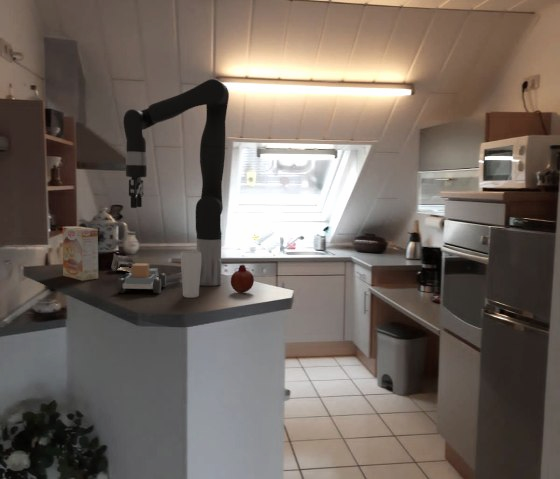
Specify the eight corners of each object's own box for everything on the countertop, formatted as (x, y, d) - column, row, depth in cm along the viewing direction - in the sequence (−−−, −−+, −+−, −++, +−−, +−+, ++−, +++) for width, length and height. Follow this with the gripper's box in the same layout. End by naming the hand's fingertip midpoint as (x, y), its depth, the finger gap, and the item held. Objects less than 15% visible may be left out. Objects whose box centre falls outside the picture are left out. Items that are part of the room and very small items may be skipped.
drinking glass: (191, 299, 174) (192, 254, 173) (176, 296, 178) (176, 252, 176) (205, 296, 180) (205, 252, 178) (190, 293, 183) (190, 250, 182)
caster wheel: (140, 278, 223) (116, 277, 218) (132, 269, 232) (109, 267, 227) (143, 264, 222) (119, 261, 216) (136, 255, 231) (113, 252, 225)
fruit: (248, 296, 181) (248, 267, 180) (226, 294, 184) (227, 265, 183) (257, 292, 189) (257, 264, 188) (236, 290, 192) (236, 262, 191)
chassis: (166, 285, 196) (166, 268, 195) (158, 294, 180) (158, 275, 179) (127, 285, 195) (127, 267, 195) (116, 294, 179) (116, 275, 179)
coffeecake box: (62, 275, 211) (61, 226, 209) (79, 273, 217) (78, 226, 215) (81, 280, 202) (81, 229, 200) (99, 278, 207) (98, 228, 205)
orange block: (149, 280, 187) (149, 263, 186) (146, 283, 182) (146, 265, 181) (135, 280, 187) (134, 263, 186) (131, 282, 182) (131, 265, 181)
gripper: (142, 163, 194) (142, 208, 196) (149, 165, 208) (149, 206, 210) (121, 163, 193) (121, 208, 195) (130, 164, 208) (130, 206, 209)
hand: (136, 207), depth 202 cm, fingers open, 8 cm apart
